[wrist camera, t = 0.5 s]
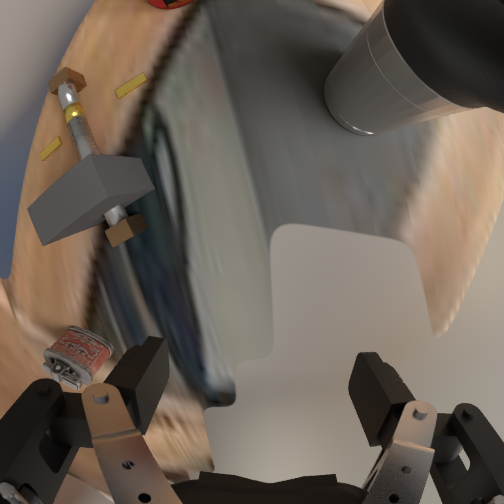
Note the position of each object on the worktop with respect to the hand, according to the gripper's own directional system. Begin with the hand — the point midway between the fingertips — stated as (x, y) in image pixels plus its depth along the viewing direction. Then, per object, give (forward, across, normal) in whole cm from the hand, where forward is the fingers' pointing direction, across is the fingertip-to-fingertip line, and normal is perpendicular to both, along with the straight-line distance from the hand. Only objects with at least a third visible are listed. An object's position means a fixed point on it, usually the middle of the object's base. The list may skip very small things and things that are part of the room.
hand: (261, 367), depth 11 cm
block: (+21, +17, -6) cm, 28 cm away
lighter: (+23, +24, +16) cm, 36 cm away
